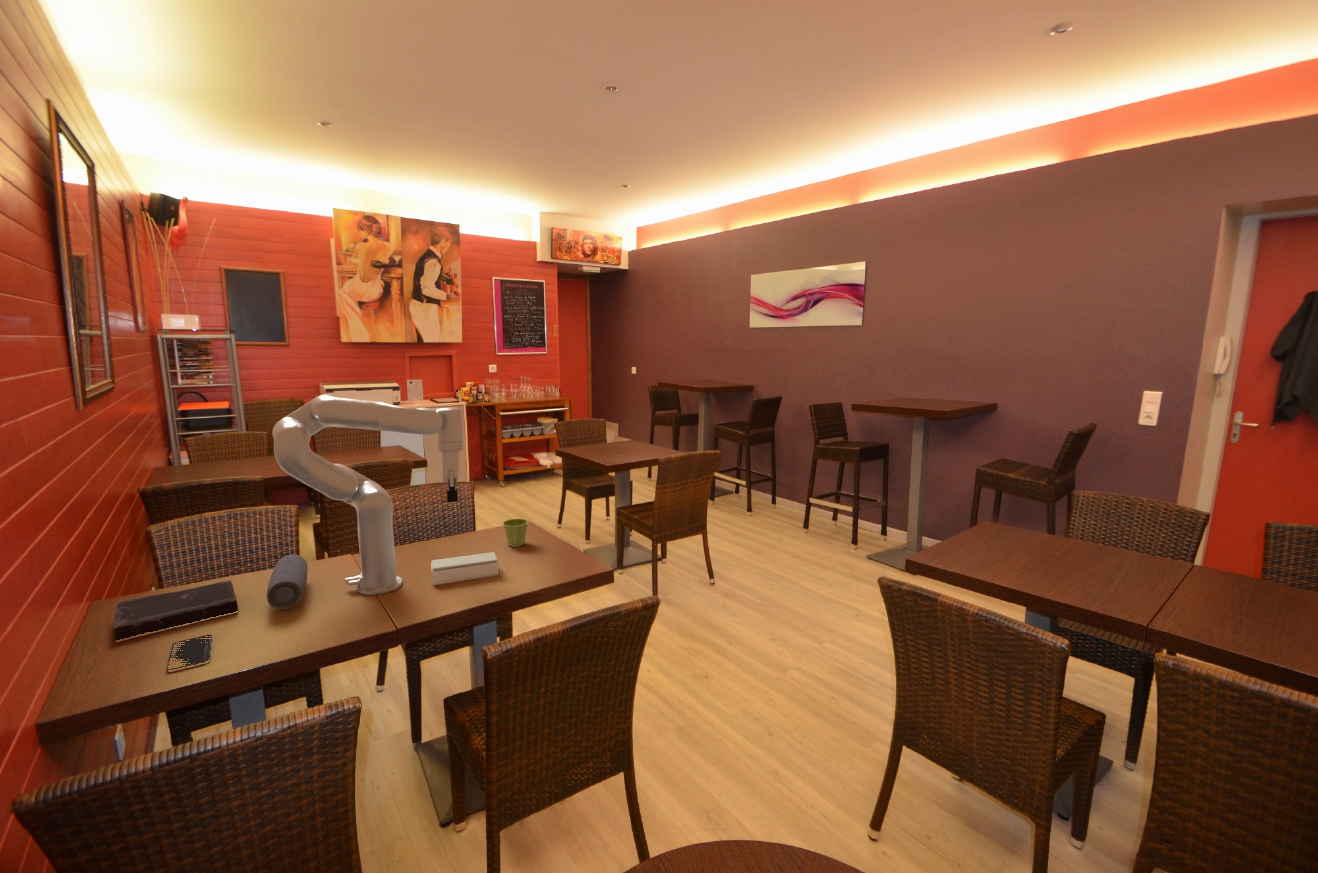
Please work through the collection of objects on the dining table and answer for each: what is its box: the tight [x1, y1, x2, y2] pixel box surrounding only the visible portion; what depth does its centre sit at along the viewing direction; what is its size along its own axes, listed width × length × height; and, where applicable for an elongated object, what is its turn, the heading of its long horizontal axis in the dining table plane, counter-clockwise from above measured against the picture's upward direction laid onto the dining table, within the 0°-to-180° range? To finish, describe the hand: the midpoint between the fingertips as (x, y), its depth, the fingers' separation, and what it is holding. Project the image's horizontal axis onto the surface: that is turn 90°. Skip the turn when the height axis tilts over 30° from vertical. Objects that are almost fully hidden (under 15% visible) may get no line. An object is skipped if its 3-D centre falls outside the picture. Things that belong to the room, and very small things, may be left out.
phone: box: [166, 634, 213, 671], centre depth 138 cm, size 8×1×15 cm
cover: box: [431, 551, 498, 571], centre depth 184 cm, size 20×8×1 cm, turn 113°
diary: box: [112, 579, 239, 642], centre depth 157 cm, size 19×25×5 cm
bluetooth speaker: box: [266, 554, 309, 610], centre depth 168 cm, size 23×9×10 cm, turn 28°
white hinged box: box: [430, 560, 500, 586], centre depth 184 cm, size 20×8×4 cm, turn 113°
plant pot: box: [502, 518, 529, 548], centre depth 213 cm, size 9×9×9 cm
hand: (452, 501), depth 186 cm, fingers closed
